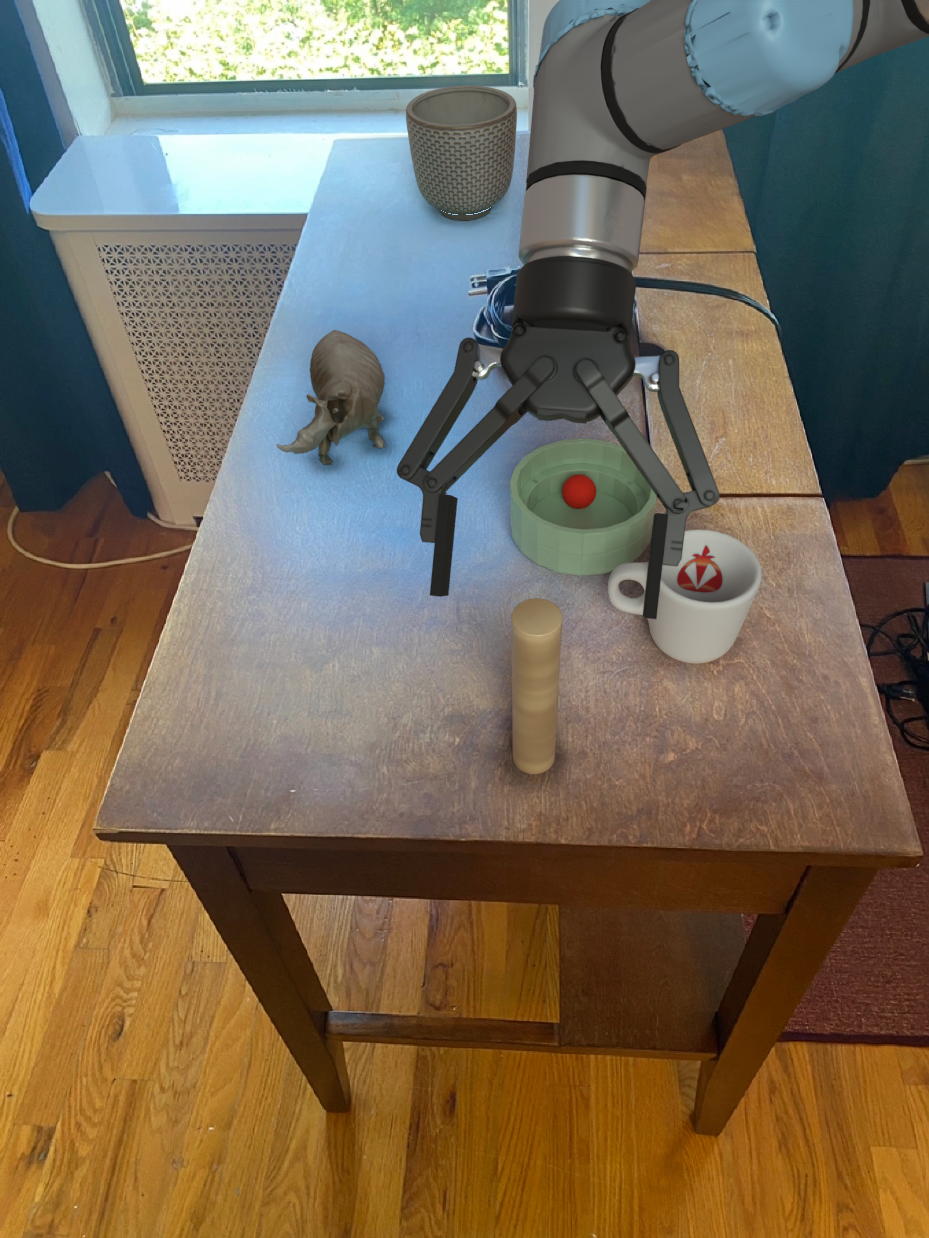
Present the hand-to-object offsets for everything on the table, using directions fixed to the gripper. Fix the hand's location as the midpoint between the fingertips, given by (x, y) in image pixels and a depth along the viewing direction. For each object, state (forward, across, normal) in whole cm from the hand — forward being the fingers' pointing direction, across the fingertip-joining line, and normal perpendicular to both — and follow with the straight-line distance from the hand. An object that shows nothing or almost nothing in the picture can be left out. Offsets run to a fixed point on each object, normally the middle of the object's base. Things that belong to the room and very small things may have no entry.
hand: (542, 607), depth 59 cm
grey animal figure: (-12, +23, -29) cm, 39 cm away
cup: (+2, -9, -15) cm, 18 cm away
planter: (-49, +20, -66) cm, 84 cm away
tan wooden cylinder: (+11, 0, -6) cm, 12 cm away
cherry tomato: (-9, -1, -23) cm, 24 cm away
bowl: (-6, -1, -22) cm, 23 cm away
